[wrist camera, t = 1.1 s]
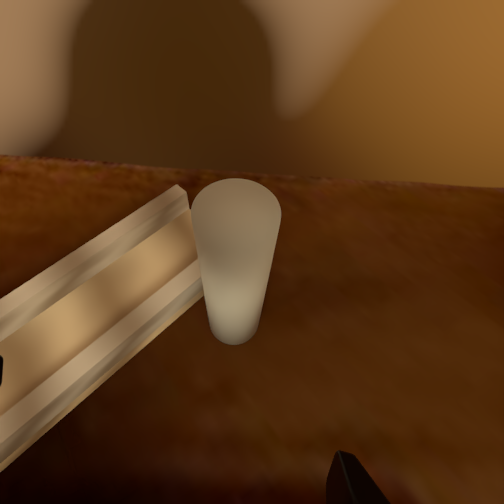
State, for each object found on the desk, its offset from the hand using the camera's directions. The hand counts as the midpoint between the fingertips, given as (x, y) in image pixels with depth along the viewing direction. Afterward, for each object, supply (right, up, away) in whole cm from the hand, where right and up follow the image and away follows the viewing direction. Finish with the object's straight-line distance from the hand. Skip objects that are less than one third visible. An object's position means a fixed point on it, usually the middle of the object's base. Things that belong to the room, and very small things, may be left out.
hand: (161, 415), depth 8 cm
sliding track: (-8, 0, +15) cm, 17 cm away
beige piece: (+1, -1, +15) cm, 15 cm away
